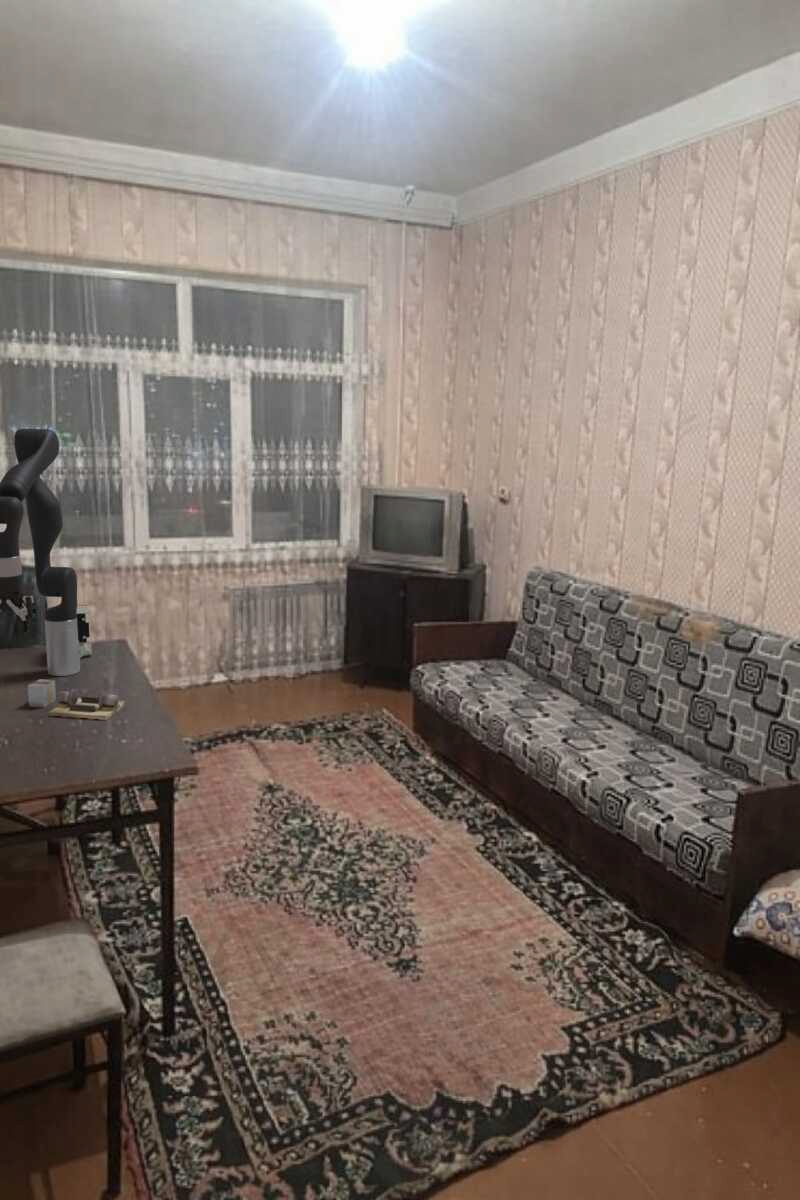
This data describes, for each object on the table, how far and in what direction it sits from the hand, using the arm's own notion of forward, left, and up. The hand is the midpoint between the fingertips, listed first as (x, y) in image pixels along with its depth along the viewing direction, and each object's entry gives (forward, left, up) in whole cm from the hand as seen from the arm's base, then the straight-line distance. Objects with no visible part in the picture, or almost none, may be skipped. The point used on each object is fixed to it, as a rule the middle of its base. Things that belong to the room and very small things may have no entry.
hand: (11, 632), depth 222 cm
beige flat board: (-3, +19, -22) cm, 29 cm away
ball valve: (-51, -9, -22) cm, 56 cm away
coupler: (-6, +4, -22) cm, 23 cm away
